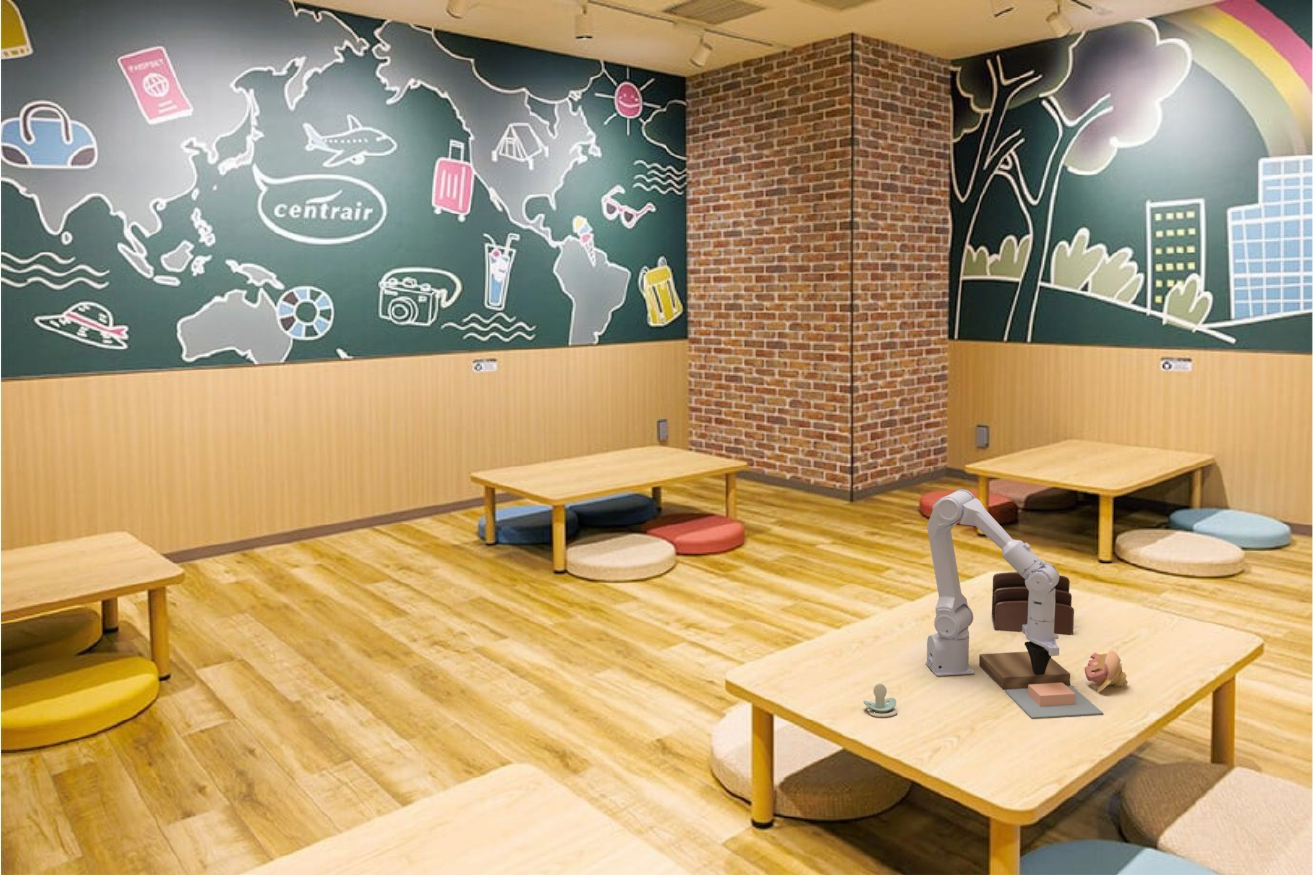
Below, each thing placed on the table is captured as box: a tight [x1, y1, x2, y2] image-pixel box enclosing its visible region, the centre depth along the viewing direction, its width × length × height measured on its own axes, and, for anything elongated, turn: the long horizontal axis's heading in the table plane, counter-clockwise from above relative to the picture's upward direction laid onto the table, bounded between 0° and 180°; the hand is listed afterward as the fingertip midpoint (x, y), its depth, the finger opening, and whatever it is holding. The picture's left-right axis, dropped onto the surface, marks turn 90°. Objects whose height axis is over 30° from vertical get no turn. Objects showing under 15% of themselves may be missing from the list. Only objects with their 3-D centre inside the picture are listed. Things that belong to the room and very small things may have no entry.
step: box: [978, 651, 1071, 691], centre depth 233 cm, size 16×14×3 cm
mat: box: [1004, 685, 1104, 720], centre depth 218 cm, size 16×14×1 cm
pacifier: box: [863, 683, 898, 718], centre depth 216 cm, size 7×6×6 cm
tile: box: [1027, 683, 1075, 706], centre depth 219 cm, size 8×6×2 cm
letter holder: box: [991, 571, 1075, 636], centre depth 263 cm, size 10×20×14 cm, turn 75°
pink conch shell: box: [1084, 649, 1129, 694], centre depth 225 cm, size 9×10×10 cm
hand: (1038, 673), depth 225 cm, fingers closed
